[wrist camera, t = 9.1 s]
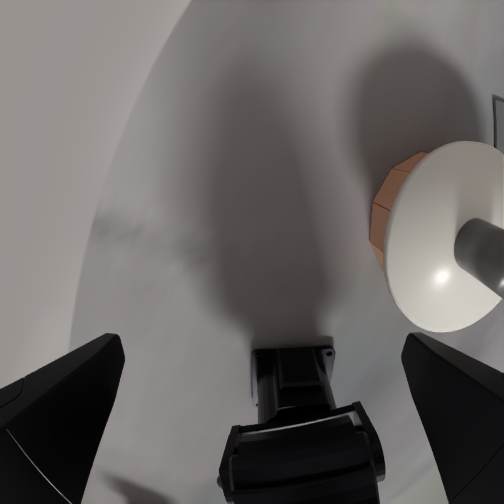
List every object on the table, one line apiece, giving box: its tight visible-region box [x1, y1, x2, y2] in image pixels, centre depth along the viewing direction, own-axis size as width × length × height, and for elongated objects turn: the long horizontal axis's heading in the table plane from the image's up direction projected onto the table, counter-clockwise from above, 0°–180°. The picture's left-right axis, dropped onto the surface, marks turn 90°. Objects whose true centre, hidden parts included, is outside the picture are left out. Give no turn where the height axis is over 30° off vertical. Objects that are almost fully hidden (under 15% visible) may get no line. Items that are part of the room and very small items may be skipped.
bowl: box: [369, 152, 429, 272], centre depth 17 cm, size 10×10×4 cm
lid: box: [383, 141, 504, 332], centre depth 13 cm, size 12×12×5 cm
